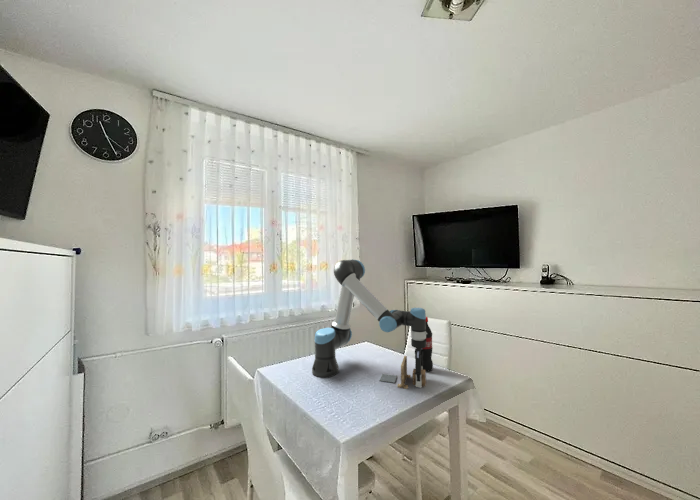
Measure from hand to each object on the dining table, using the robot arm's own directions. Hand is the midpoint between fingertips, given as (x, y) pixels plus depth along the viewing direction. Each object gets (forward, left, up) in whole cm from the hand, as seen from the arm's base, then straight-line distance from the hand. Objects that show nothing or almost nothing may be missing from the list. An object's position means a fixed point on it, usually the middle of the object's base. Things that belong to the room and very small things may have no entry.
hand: (419, 382), depth 140 cm
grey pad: (-16, 0, 0) cm, 16 cm away
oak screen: (-8, -1, 0) cm, 8 cm away
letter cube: (0, 0, 0) cm, 0 cm away
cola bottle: (+2, +18, 0) cm, 18 cm away
